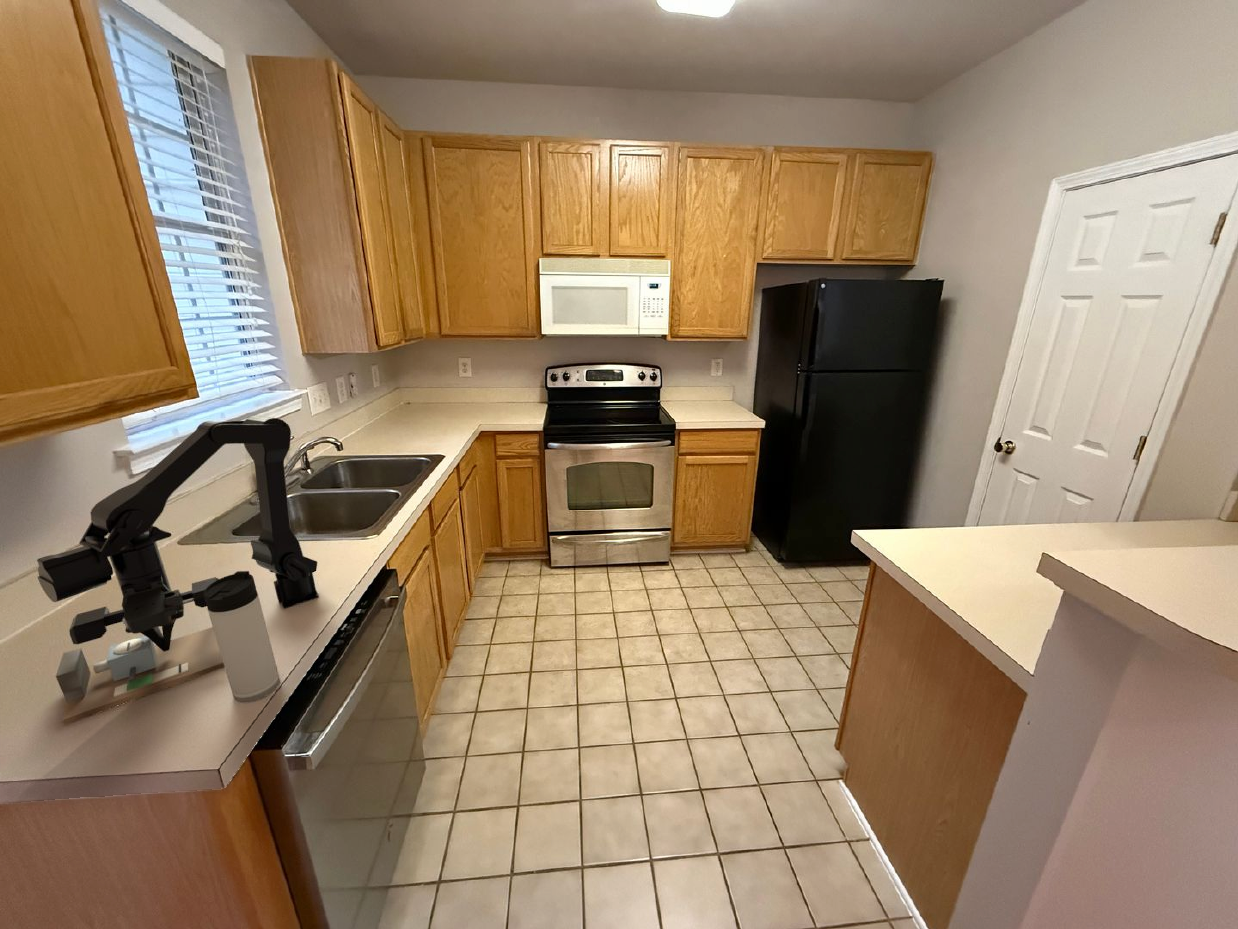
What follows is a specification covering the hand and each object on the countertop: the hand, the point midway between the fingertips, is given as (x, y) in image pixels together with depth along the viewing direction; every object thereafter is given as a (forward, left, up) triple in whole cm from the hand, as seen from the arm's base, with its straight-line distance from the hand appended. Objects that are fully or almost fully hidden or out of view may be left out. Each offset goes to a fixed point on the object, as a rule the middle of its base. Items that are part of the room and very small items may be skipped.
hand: (166, 649), depth 86 cm
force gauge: (+5, +2, -1) cm, 6 cm away
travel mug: (-11, +18, -3) cm, 21 cm away
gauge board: (+1, +1, -3) cm, 3 cm away
